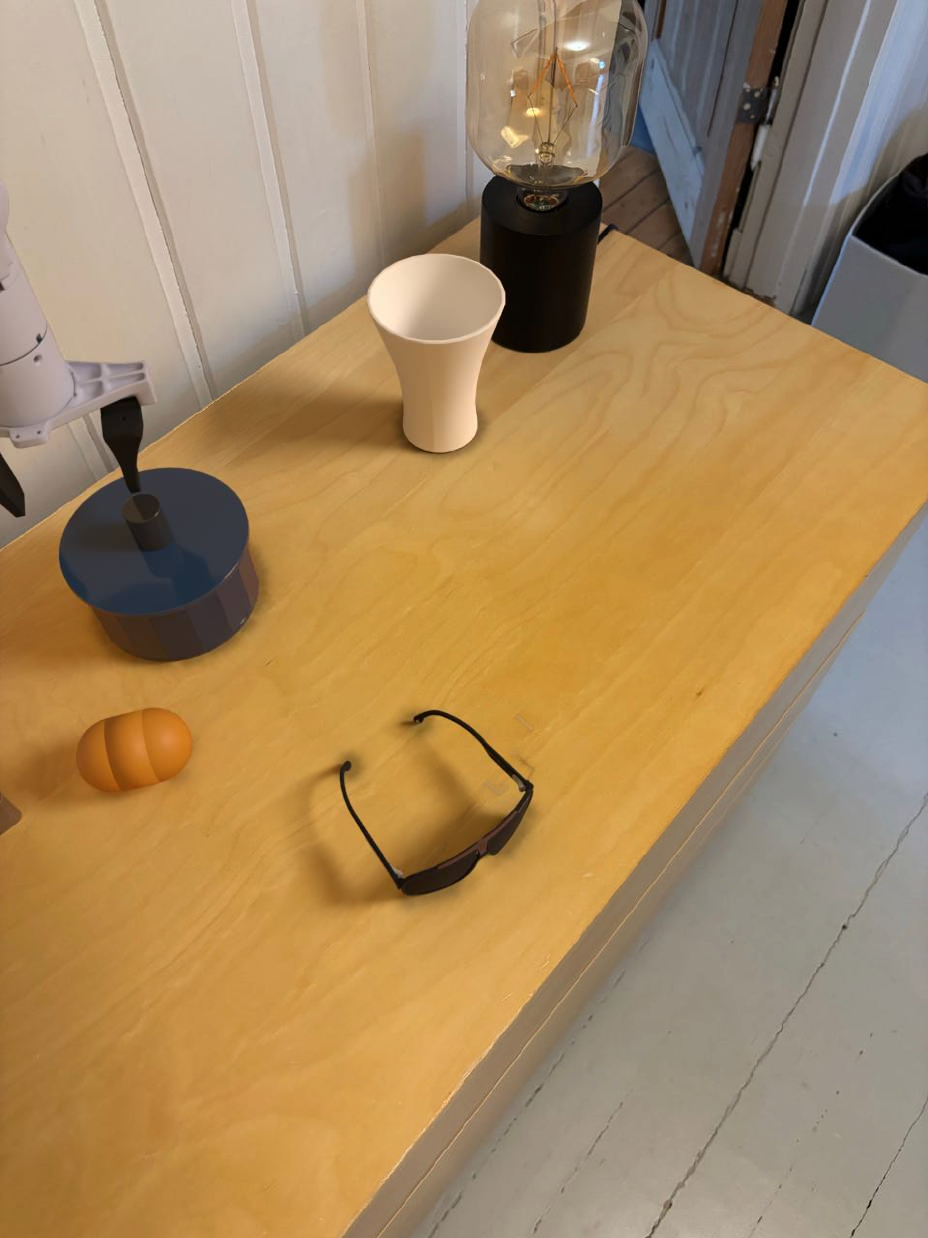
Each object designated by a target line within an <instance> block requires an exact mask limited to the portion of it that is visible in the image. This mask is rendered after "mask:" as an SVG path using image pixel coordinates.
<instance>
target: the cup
mask: <svg viewBox="0 0 928 1238" xmlns="http://www.w3.org/2000/svg"><path fill="white" fill-rule="evenodd" d="M365 300H366V301H365V303H366V307H367V310H368V314H369V316H370V318H371V320H372V322H373V324H374V326H375V327H376V329H377V332H378V333H379V335H380V338H381V340H382V342H383V344H384V346H385V348H386V350H387V352H388V354H389V356H390V358H391V360H392V363H393V365H394V368H395V370H396V374H397V377H398V380H399V384H400V390H401V396H402V403H403V416H402V417H403V418H402V430H403V434H404V436H405V437H406V439H407V440H408V441H409V442H410V443H411V444H412V445H414V447H416V448H419V449H421V450H423V451H425V452H431V453H447V452H453V451H456V450H458V449H461V448H463V447H465V446H466V445H468V444H469V443H470V442H471V441H472V440H473V439H474V437H475V436H476V433H477V430H478V416H477V408H476V407H477V406H476V397H477V396H476V395H477V386H478V385H477V384H478V381H479V380H478V379H479V376H480V371H481V368H482V362H483V360H484V357H485V354H486V352H487V349H488V346H489V344H490V341H491V339H492V337H493V334H494V331H495V329H496V327H497V324H498V322H499V321H500V318H501V315H502V312H503V310H504V307H505V305H506V291H505V289H504V287H503V284H502V282H501V280H500V278H498V277H497V275H496V274H495V273H494V272H493V270H491V269H490V268H488V267H486V266H485V265H483V264H482V263H480V262H479V261H475V260H473V259H471V258H468V257H466V256H461V255H457V254H449V253H425V254H418V255H413V256H410V257H409V256H408V257H407V258H403V259H401V260H397V261H396V262H394V263H392V264H391V265H389V266H387V267H386V268H383V270H381V272H380V273H378V275H376V276H375V277H374V278H373V280H372V282H371V284H370V285H369V287H368V289H367V292H366V299H365Z"/></svg>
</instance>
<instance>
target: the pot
mask: <svg viewBox="0 0 928 1238" xmlns="http://www.w3.org/2000/svg"><path fill="white" fill-rule="evenodd" d="M259 590H260V579H259V574H258V571H257V566H256V562H255V557H254V555H253V551H252V549H251V545H250V541H249V542H248V547H247V550H246V553H245V556H244V558H243V560H242V562H241V564H240V566H239V567H238V569H237V570H236V572H235V573H234V574H233V576H232V577H231V578H230V579H229V580H228V581H227V582H226V583H225V584H224V585H223V586H222V587H221V588H220V589H219V590H218V591H216V592H215V593H214V594H213V595H211V596H210V597H208V598H207V599H205V600H204V601H202V602H200V603H198V604H196V605H194V606H192V607H190V608H187V609H185V610H182V611H180V612H176V613H173V614H170V615H166V616H160V617H155V618H142V619H137V618H124V617H117V616H113V615H109V614H106V613H103V612H101V611H98V610H96V609H94V608H92V607H90V606H89V605H87V607H88V609H89V610H90V612H91V614H92V616H93V618H94V619H95V620H96V622H97V623H98V625H99V626H100V628H101V629H102V630H103V632H104V633H105V635H106V636H107V638H108V639H109V640H110V642H111V643H113V644H114V645H115V646H116V647H117V648H119V649H120V650H121V651H123V652H125V654H129V655H131V656H133V657H136V658H139V659H142V660H146V661H152V662H162V663H163V662H164V663H165V662H166V663H168V662H180V661H185V660H191V659H193V658H196V657H200V656H202V655H205V654H207V653H210V652H212V651H213V650H215V649H217V648H219V647H221V646H222V645H224V644H225V643H227V642H228V641H230V640H231V639H232V638H234V636H235V635H236V634H238V632H239V631H240V630H241V629H242V628H243V627H244V626H245V625H246V623H247V621H248V620H249V618H251V615H252V614H253V611H254V610H255V607H256V604H257V602H258V596H259Z"/></svg>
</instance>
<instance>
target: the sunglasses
mask: <svg viewBox="0 0 928 1238" xmlns="http://www.w3.org/2000/svg"><path fill="white" fill-rule="evenodd" d="M431 716H436V717H437V716H438V717H442V718H443V719H447V720H449V721H451V722H453V723H455V724H456V725H458V726H460V727H461V728H463V729H464V730H465V731H467V732H468V733H469V734H471V736H473V737H474V739H475V740H477V741H478V742H479V743H480V745H481V746H482V747H483V749H484V751H485V752H486V754H487V755H488V757H489V758H490V759H491V760H492V761H493V762H494V763H495V764H496V765H497V766H498V767H499V768H500V769H502V771H503V772H504V773H506V774H507V775H508V776H509V777H510V778H511V779H512V781H514V782H515V783H516V784H517V786H518V791H519V792H520V793H524V794H523V795H522V796H521V799H520V800H519V801H518V802H517V804H516V805H515V807H514V808H513V809H512V810H511V811H510V812H509V813H508V814H507V815H506V816H505V817H504V818H503V819H502V821H500V822H499V823H498V824H497V825H496V826H495V827H493V828H492V829H491V830H489V831H488V832H487V833H486V834H484V835H482V836H481V837H479V838H478V839H477V840H475V842H473V843H472V844H470V845H469V846H467V848H465V849H463V850H461V851H460V852H458V853H457V854H456V855H454V856H451V857H449V858H447V859H445V860H443V861H442V862H439V863H438V864H436V865H434V866H432V867H428V868H426V869H423V870H421V871H417V872H415V873H411V874H409V875H407V876H406V877H404V874H403V872H402V870H399V869H396V868H395V867H393V865H392V864H391V862H389V861H388V859H387V858H386V857H385V855H384V853H383V852H382V851H381V849H380V847H379V846H378V845H377V842H375V840H374V838H373V837H372V836H371V833H370V832H369V831H368V829H367V828H366V826H365V825H364V823H363V822H362V820H361V819H360V817H359V815H358V814H357V812H356V810H355V809H354V807H353V806H352V804H351V801H350V799H349V796H348V793H347V789H346V782H345V773H346V772H349V771H350V770H351V769H352V763H351V761H350V760H346V761H345V762H344V763H343V764H342V765H341V766H340V769H339V785H340V790H341V794H342V798H343V801H344V803H345V806H346V808H347V810H348V812H349V814H350V816H351V817H352V819H353V820H354V822H355V823H356V825H357V827H358V828H359V830H360V832H361V833H362V835H363V836H364V839H365V840H366V842H367V844H368V845H369V846H370V848H371V849H372V851H373V852H374V854H375V856H376V857H377V859H378V860H379V862H380V863H381V865H382V866H383V867H384V869H385V871H386V873H387V874H388V875H389V877H390V878H391V880H392V882H393V883H394V885H395V886H396V888H397V890H398V891H401V893H402V894H403V895H405V896H411V897H412V896H414V897H415V896H422V895H428V894H432V893H436V892H439V891H443V890H444V889H447V888H450V887H452V886H453V885H456V884H458V883H460V882H461V881H462V880H464V879H465V878H467V877H468V876H469V875H470V874H471V873H472V872H473V871H474V870H475V868H476V867H477V865H478V863H479V862H480V861H481V860H482V859H483V858H484V857H486V856H487V855H490V856H493V857H494V856H496V855H498V854H499V853H500V852H501V851H502V850H503V849H504V847H505V846H506V844H508V842H509V841H510V839H511V838H512V837H513V835H514V834H515V832H516V831H517V829H518V827H519V826H520V824H521V822H522V820H523V818H524V817H525V814H526V812H527V810H528V809H529V806H530V804H531V802H532V799H533V796H534V787H535V785H534V783H532V782H531V781H530V780H529V779H526V778H525V777H524V776H523V775H522V774H521V773H520V772H519V771H518V770H516V769H515V767H513V765H512V764H510V763H509V762H508V761H507V760H506V759H505V757H503V756H502V755H501V754H500V753H498V751H497V750H495V748H494V747H492V746H491V745H490V744H489V743H488V742H487V740H486V739H485V738H484V737H483V736H482V735H481V734H480V733H478V732H477V730H476V729H474V728H473V727H472V726H470V725H469V724H468V723H467V722H465V721H463V720H462V719H460V718H459V717H457V716H455V715H453V714H451V713H448V712H445V711H444V710H440V709H428V710H425V711H423V712H421V713H418V714H416V715H414V716H413V718H412V720H413V723H414V724H417V725H419V724H421V723H423V722H424V720H425V719H426V718H428V717H431Z"/></svg>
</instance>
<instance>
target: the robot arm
mask: <svg viewBox="0 0 928 1238" xmlns="http://www.w3.org/2000/svg"><path fill="white" fill-rule="evenodd" d="M9 215H10V199H9V194H8V189H7V186H6V183H5V182H4V181H3V180H1V179H0V438H4V439H6V438H7V439H9V440H10V442H11V444H12V445H13V447H14V448H16V449H19V450H20V449H22V450H23V449H27V448H33V447H37V446H42V445H45V444H47V443H48V442H50V438H51V431H54V430H56V429H58V428H60V427H62V426H64V425H65V426H66V425H67V424H69V423H72V422H73V421H76V420H79V419H80V418H82V417H84V416H86V415H89V414H91V413H93V412H96V411H98V410H99V412H100V425H101V435H102V439H103V441H104V443H105V444H106V445H107V447H108V448H109V450H110V451H111V454H113V456H114V458H115V460H116V462H117V463H118V465H119V468H120V471H121V473H122V477H124V479H125V482H126V485H127V488H128V490H129V491H130V493H131V494H132V493H137V492H140V491H141V485H140V478H139V471H140V470H139V468H138V456H139V451H140V447H141V444H142V440H143V438H144V426H145V425H144V424H145V423H144V417H143V410H142V407H147V406H152V405H156V404H158V399H157V393H156V387H155V382H154V379H153V376H152V374H151V371H150V368H149V365H148V363H147V360H145V359H143V360H137V361H136V360H135V361H126V362H110V361H109V362H107V361H88V360H87V361H86V360H68V359H67V360H66V359H65V358H64V356H63V354H62V351H61V349H60V347H59V345H58V343H57V340H56V338H55V336H54V334H53V332H52V329H51V327H50V325H49V323H48V320H47V318H46V316H45V313H44V312H43V309H42V307H41V305H40V303H39V301H38V298H37V296H36V294H35V291H34V290H33V287H32V285H31V283H30V281H29V278H28V276H27V274H26V272H25V269H24V267H23V265H22V263H21V261H20V258H19V256H18V254H17V251H16V249H15V248H14V247H13V245H12V244H11V242H10V239H9V238H8V235H7V233H6V228H7V224H8V221H9ZM25 495H26V493H25V492H24V489H23V487H22V485H21V483H20V481H19V479H18V478H17V476H16V475H15V473H14V472H13V470H12V469H11V467H10V466H9V464H8V463H7V461H6V459H5V458H4V455H2V453H1V452H0V505H1V507H3V508H4V509H5V510H6V511H7V512H8V513H10V514H11V515H12V516H13V517H15V518H16V519H18V518H22V517H23V518H24V517H26V497H25Z"/></svg>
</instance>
